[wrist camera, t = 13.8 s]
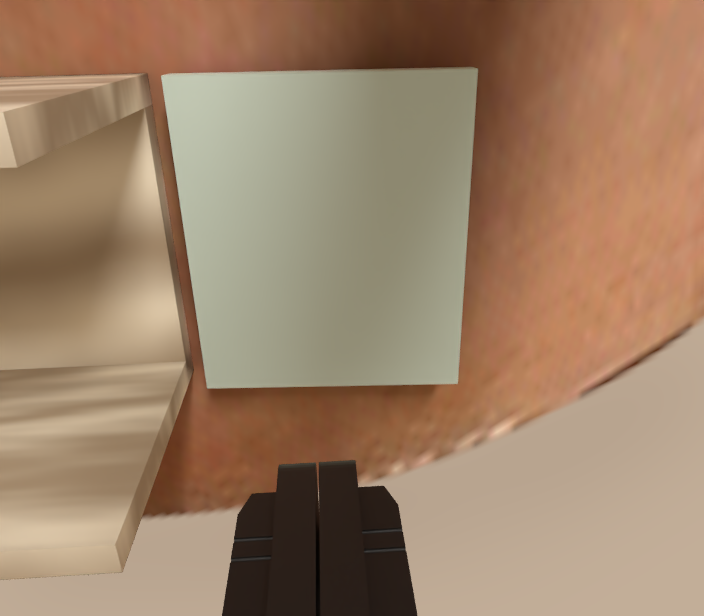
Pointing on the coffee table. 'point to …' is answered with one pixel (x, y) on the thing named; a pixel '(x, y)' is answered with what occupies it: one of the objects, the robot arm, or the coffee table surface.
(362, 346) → the flat panel
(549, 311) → the coffee table surface
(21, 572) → the box
